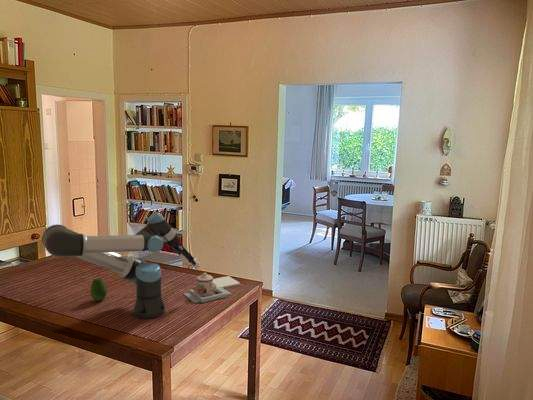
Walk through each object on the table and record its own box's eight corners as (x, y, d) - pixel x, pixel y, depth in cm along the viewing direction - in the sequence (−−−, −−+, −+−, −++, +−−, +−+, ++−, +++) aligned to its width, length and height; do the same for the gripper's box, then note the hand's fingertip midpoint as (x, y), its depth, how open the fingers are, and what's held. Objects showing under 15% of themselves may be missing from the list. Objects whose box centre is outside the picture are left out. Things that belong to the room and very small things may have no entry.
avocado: (91, 298, 211) (90, 276, 209) (107, 296, 214) (106, 275, 212) (90, 304, 204) (89, 281, 202) (107, 302, 206) (106, 280, 204)
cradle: (195, 304, 206) (195, 300, 206) (183, 294, 218) (183, 291, 218) (232, 295, 219) (232, 291, 218) (219, 286, 231) (219, 283, 231)
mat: (219, 289, 227) (219, 287, 227) (207, 281, 239) (207, 280, 238) (240, 284, 235) (240, 282, 235) (228, 277, 247) (228, 276, 246)
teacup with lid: (193, 294, 219) (192, 274, 217) (203, 289, 227) (203, 269, 225) (210, 299, 213) (210, 278, 211) (220, 293, 221) (220, 273, 219)
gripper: (185, 237, 202) (207, 266, 212) (166, 228, 222) (188, 254, 232) (173, 247, 199) (197, 276, 209) (156, 237, 220) (178, 263, 229)
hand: (192, 265), depth 220 cm, fingers open, 13 cm apart
